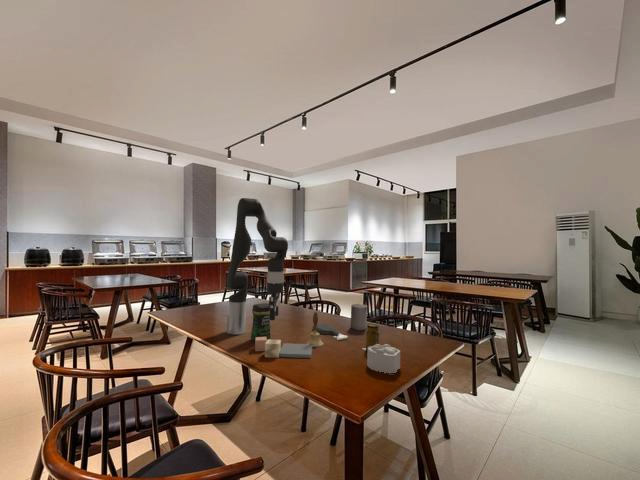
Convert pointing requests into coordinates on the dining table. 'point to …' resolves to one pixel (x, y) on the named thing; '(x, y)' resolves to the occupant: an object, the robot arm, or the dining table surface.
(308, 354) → the slate tile
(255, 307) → the coffee jar
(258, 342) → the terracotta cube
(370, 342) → the condiment
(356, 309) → the pillar candle
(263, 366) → the dining table surface
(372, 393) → the dining table surface
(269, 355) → the birch cube
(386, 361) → the lumpy-topped squat cylinder
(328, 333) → the spray bottle
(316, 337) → the hand bell
